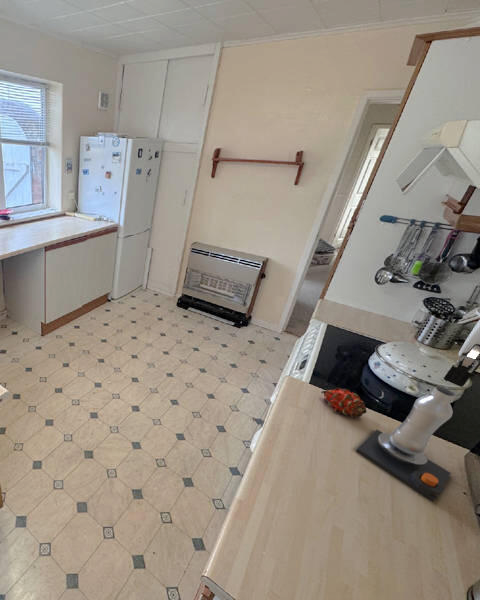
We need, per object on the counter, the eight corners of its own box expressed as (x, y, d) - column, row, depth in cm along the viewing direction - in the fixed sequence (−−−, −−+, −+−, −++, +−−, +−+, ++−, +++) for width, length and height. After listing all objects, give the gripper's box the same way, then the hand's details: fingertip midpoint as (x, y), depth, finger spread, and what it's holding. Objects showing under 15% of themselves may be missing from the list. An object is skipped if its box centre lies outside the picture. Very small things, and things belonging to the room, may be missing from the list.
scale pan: (430, 456, 86) (432, 454, 86) (419, 472, 81) (420, 470, 81) (385, 429, 94) (386, 427, 93) (371, 443, 89) (373, 441, 88)
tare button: (436, 484, 79) (440, 479, 78) (432, 489, 78) (437, 484, 77) (422, 475, 81) (426, 470, 80) (418, 480, 80) (422, 475, 79)
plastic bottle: (387, 433, 91) (426, 378, 83) (419, 448, 87) (464, 392, 78) (385, 446, 87) (426, 389, 78) (419, 462, 83) (466, 405, 74)
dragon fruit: (360, 428, 100) (316, 409, 109) (371, 406, 102) (327, 389, 111) (362, 417, 95) (315, 397, 104) (373, 394, 97) (326, 377, 106)
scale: (448, 478, 85) (455, 469, 83) (431, 505, 78) (440, 496, 76) (373, 433, 97) (379, 425, 95) (354, 453, 90) (359, 444, 88)
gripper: (526, 331, 61) (472, 398, 69) (538, 312, 70) (489, 374, 78) (470, 314, 67) (425, 378, 75) (488, 298, 76) (446, 357, 83)
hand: (458, 376), depth 76 cm, fingers open, 9 cm apart
